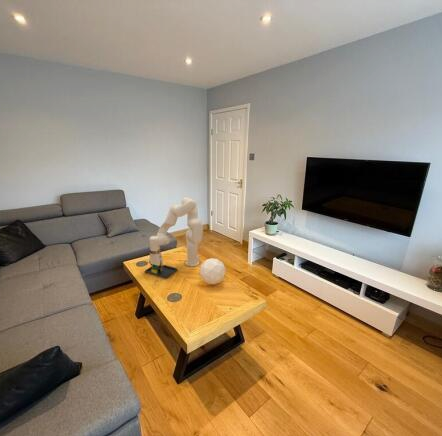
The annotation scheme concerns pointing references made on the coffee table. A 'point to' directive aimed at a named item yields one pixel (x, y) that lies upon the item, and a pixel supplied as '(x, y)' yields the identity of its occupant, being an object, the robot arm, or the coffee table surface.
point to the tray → (163, 271)
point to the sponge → (154, 269)
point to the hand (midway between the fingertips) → (156, 271)
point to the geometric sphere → (212, 271)
